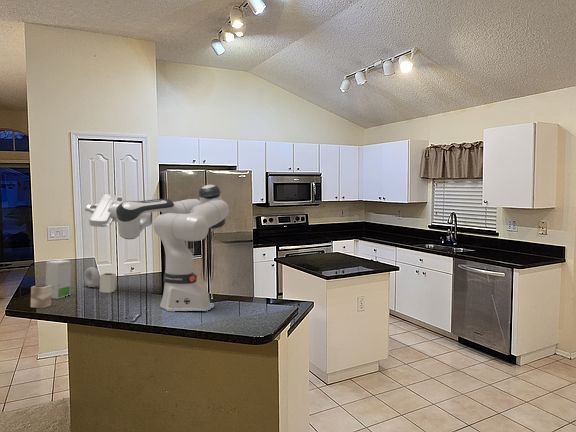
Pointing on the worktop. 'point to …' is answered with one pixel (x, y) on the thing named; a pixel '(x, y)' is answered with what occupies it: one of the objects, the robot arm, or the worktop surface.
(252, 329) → the worktop surface
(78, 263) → the worktop surface
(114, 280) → the off-white marked block
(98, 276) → the donut
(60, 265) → the skincare box
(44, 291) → the birch marked block
